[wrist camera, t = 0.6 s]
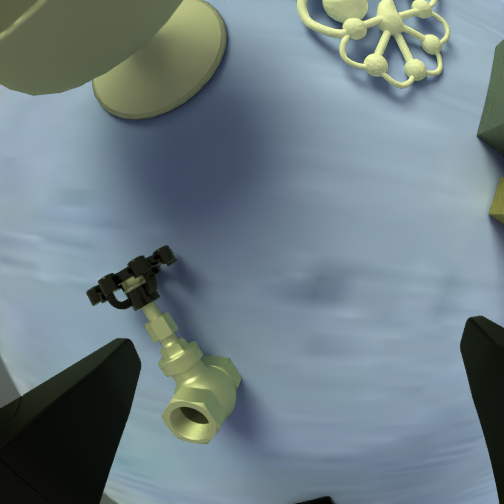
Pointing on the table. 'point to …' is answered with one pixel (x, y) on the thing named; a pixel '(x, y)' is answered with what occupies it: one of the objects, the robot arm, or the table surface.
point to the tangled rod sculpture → (390, 23)
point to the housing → (494, 105)
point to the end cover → (498, 203)
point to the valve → (175, 353)
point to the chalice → (112, 50)
